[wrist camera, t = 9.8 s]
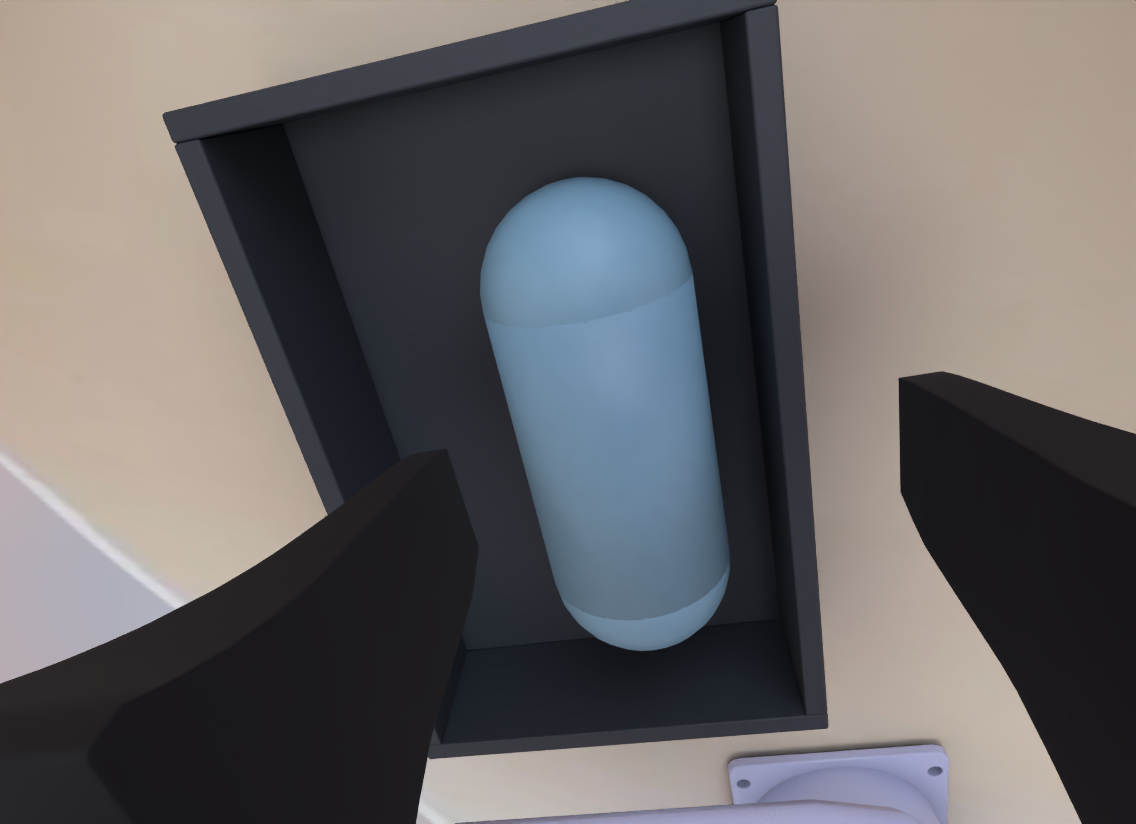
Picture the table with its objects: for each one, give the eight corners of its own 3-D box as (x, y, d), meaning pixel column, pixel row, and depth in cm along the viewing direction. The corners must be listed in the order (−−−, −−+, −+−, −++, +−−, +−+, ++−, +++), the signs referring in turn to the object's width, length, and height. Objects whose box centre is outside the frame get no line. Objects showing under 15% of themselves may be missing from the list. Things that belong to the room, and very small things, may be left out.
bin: (796, 619, 25) (829, 729, 21) (458, 653, 27) (428, 759, 22) (739, -12, 17) (775, -35, 13) (261, 102, 18) (159, 114, 14)
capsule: (665, 550, 24) (776, 625, 20) (541, 624, 22) (636, 723, 18) (594, 156, 19) (726, 150, 15) (422, 206, 17) (520, 215, 13)
